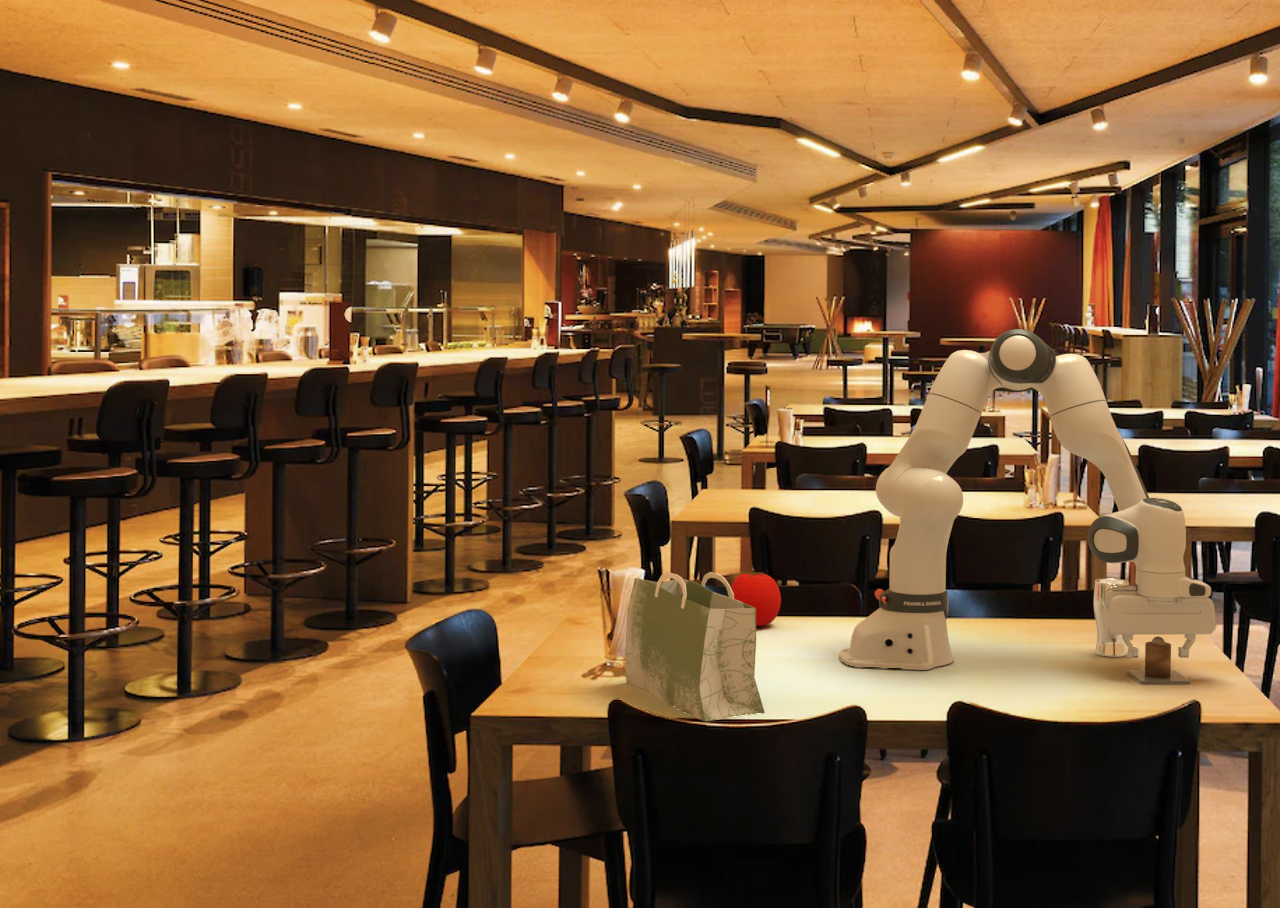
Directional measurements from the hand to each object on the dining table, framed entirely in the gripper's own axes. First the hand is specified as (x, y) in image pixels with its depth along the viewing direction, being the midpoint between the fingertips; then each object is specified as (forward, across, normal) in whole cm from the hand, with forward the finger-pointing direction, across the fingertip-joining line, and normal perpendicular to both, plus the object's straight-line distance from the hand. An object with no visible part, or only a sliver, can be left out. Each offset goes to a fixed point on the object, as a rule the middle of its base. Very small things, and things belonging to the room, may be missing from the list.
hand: (1158, 657), depth 286 cm
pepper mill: (+4, 0, 0) cm, 4 cm away
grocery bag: (+4, -88, -13) cm, 89 cm away
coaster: (+4, 0, 0) cm, 4 cm away
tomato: (+4, -74, +50) cm, 89 cm away
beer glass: (+4, -3, +21) cm, 22 cm away
